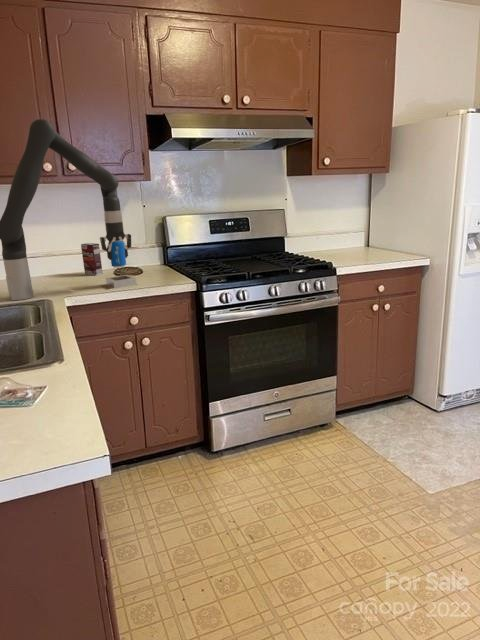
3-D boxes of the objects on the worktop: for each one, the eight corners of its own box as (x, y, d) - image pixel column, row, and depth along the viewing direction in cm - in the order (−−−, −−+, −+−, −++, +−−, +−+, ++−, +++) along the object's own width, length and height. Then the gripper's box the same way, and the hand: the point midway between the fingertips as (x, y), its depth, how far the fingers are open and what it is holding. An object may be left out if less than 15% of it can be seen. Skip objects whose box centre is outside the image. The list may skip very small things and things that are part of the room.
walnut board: (106, 291, 211) (105, 289, 211) (98, 287, 219) (98, 285, 219) (138, 285, 219) (137, 284, 219) (130, 282, 227) (129, 280, 227)
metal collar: (114, 288, 213) (113, 281, 212) (106, 284, 221) (105, 278, 220) (136, 284, 218) (135, 278, 217) (128, 280, 227) (127, 274, 226)
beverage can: (111, 268, 214) (108, 241, 210) (112, 266, 220) (109, 239, 216) (126, 267, 215) (123, 240, 211) (126, 264, 221) (123, 238, 217)
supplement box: (84, 274, 250) (80, 244, 245) (91, 272, 254) (87, 242, 249) (96, 275, 246) (92, 244, 241) (103, 273, 250) (99, 243, 245)
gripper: (100, 223, 204) (105, 262, 209) (132, 220, 212) (136, 257, 217) (94, 222, 210) (99, 259, 215) (126, 219, 218) (130, 255, 223)
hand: (118, 258), depth 216 cm, fingers closed on beverage can, 6 cm apart
